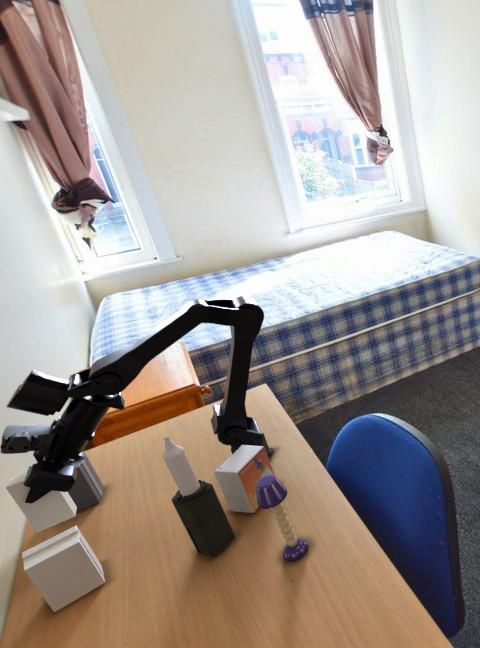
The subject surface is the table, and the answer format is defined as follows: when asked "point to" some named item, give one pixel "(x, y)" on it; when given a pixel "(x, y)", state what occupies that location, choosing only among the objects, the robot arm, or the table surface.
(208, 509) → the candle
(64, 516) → the white tall block
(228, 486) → the small box
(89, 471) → the grey books
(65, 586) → the white books
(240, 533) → the table surface
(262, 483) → the toy lamp
